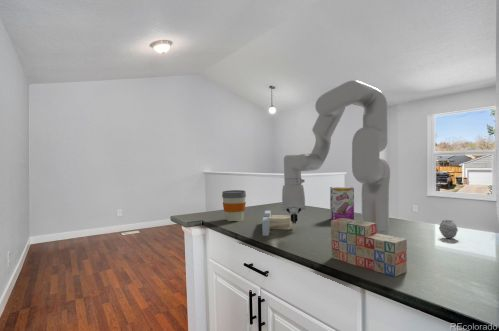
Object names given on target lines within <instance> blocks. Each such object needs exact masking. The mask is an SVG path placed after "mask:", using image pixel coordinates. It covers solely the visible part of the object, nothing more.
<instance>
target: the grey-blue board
mask: <svg viewBox="0 0 499 331" xmlns="http://www.w3.org/2000/svg"><path fill="white" fill-rule="evenodd" d="M271 214H272V212H271V210H265V211H264V214H263V218H262V221H261V223H262V224H261V228H262V229H261V232H262V236H265V237H266V236H267V237H269V235H270V231H271V229H270V217H271V216H272V215H271Z"/></svg>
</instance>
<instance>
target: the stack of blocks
mask: <svg viewBox="0 0 499 331" xmlns="http://www.w3.org/2000/svg"><path fill="white" fill-rule="evenodd" d="M330 229H331V230H330V239H331V259H335V260H338V261H339V262H340V261H341V262H345V263H347V264H350V265H354V266H358V267H361V268H365V269H368V270H371V271H374V272H378V273H381V274H385V275H388V276H391V277H394V278H395V277H397V276H398V277H399V276H400V275H402V274H404V273H405V274H406V273H407V270H408V269H407V268H408V267H407V266H408V265H407V260H408V259H407V249H408V248H407V247H408V246H407V238H403V237H398V236H393V235H389V236H388V235H383V234H376V233H377V230H376V223H372V222H366V221H362V220H359V219H357V220H356V219H354V220H352V219H346V218H341V219H336V220H330Z"/></svg>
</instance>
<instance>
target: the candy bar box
mask: <svg viewBox="0 0 499 331" xmlns="http://www.w3.org/2000/svg"><path fill="white" fill-rule="evenodd" d="M354 197H355V188H354V187H353V186H331V187H329V200H330V202H329V205H330V206H329V208H330V210H329V214H330V215H329V218H330V221H332V220H336V219H341V218H346V219H352V220H355V198H354Z"/></svg>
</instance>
